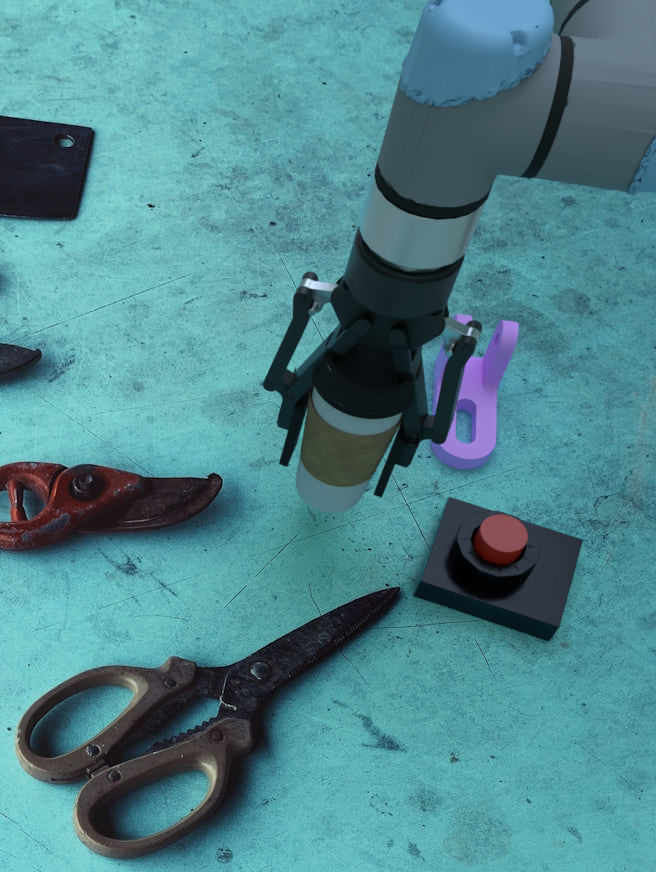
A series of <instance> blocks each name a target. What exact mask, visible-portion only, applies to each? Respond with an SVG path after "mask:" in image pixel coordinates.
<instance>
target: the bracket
mask: <svg viewBox="0 0 656 872" xmlns="http://www.w3.org/2000/svg"><path fill="white" fill-rule="evenodd" d="M451 318H452V319H454V320H456V321H458V322H460V323H462V324H464V325H466V324H467V323H468V322H469V321H472V320H473V316H472V315H468V314H462V313H455V314H453V316H452V317H451ZM519 325H520V324H519V321H512V320H507V319H505V320H504V319H500V320H499V321H498V323H497V325H496V327H495V329H494V332H493V334H492V336H491V339H490V340H489V343H488V345H487V347H486V350H485V352H484V355H483V356H482V357H478V356H473V355H472V356H471V357H470V359H469V360H468V361H467V363H466V365H465V370H464V374H463V379H462V383H461V388H460V392H459V397H458V401H457V406H456V410H455V415H454V419H453V422H452V425H451V428H450V430H449V433H448V436H447V439H446V441H445V442H444V443H443V444H435V443H433V442H432V441H431V440H430V446H431V451H432V452H433V454H434V456H435V457H436V458H437V459H438V460H439V461H440V462H442V463H443V464H445V465H446V466H448V467H451V468H453V469H458V470H464V471H466V470H474V469H477V468H480V467H482V466H484V465H485V464H487V462H488V461H489V459H490V457H491V455H492V453H493V451H494V449H495V447H496V444H497V419H498V417H497V416H498V415H497V414H498V412H497V411H498V388H499V386H500V383H501V381H502V379H503V377H504V374H505V373H506V371H507V368H508V366H509V363H510V362H511V359H512V357H513V355H514V353H515V350H516V345H517V341H518V337H519V331H520V328H519V327H520V326H519ZM442 341H443V342H442V343H441V345H440V349H439V350H438V354H437V355H436V358H435V361H434V365H433V366H434V367H433V387H432V388H433V390H432V407H431V408H432V409H431V410H432V413H431V415H435V413H436V408H437V403H438V398H439V393H440V388H441V383H442V378H443V373H444V369H445V366H446V363H447V361H448V358H449V357H447V356H446V355H445V351H444V349H443V345H444V339H443V340H442ZM458 410H461V411H462V410H463V411H466V412H467V413H469V414H470V416H471V428H470V429H471V431H470V436H471V437H470V442H469V443H467V442H463V441H460V440H459V439H458V438H457V435H456V434H457V433H456V432H457V411H458Z"/></svg>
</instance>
